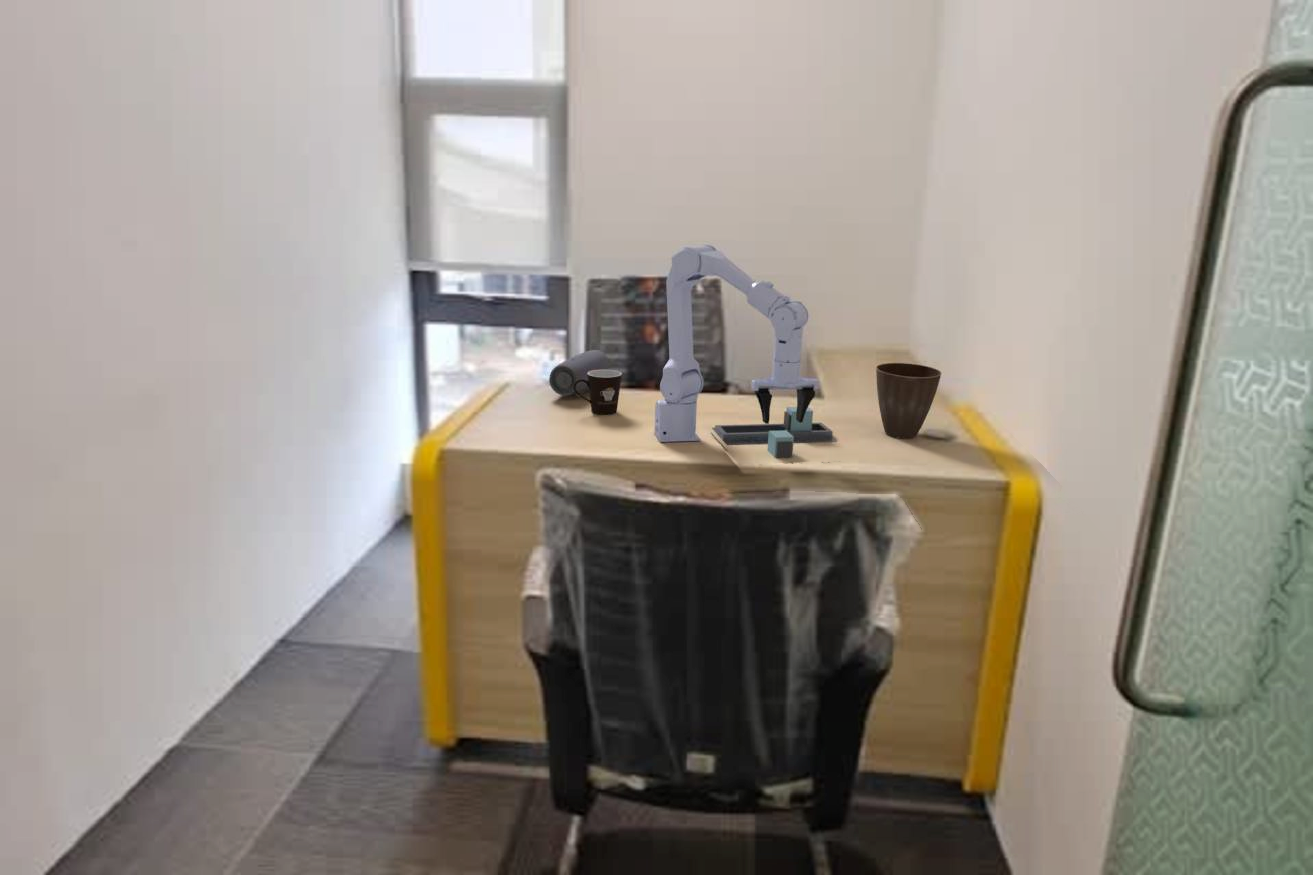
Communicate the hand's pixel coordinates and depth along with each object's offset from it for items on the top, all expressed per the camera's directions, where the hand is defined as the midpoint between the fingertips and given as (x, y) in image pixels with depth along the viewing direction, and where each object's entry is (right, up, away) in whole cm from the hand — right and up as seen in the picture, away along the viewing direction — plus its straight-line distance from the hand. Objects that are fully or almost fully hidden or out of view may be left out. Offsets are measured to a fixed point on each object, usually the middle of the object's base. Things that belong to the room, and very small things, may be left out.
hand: (782, 421), depth 201 cm
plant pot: (+32, -3, +24) cm, 40 cm away
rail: (0, -4, +16) cm, 16 cm away
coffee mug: (-42, +3, +36) cm, 55 cm away
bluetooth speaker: (-48, +9, +56) cm, 75 cm away
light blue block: (+6, -3, +16) cm, 18 cm away
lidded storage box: (0, -8, +2) cm, 9 cm away
